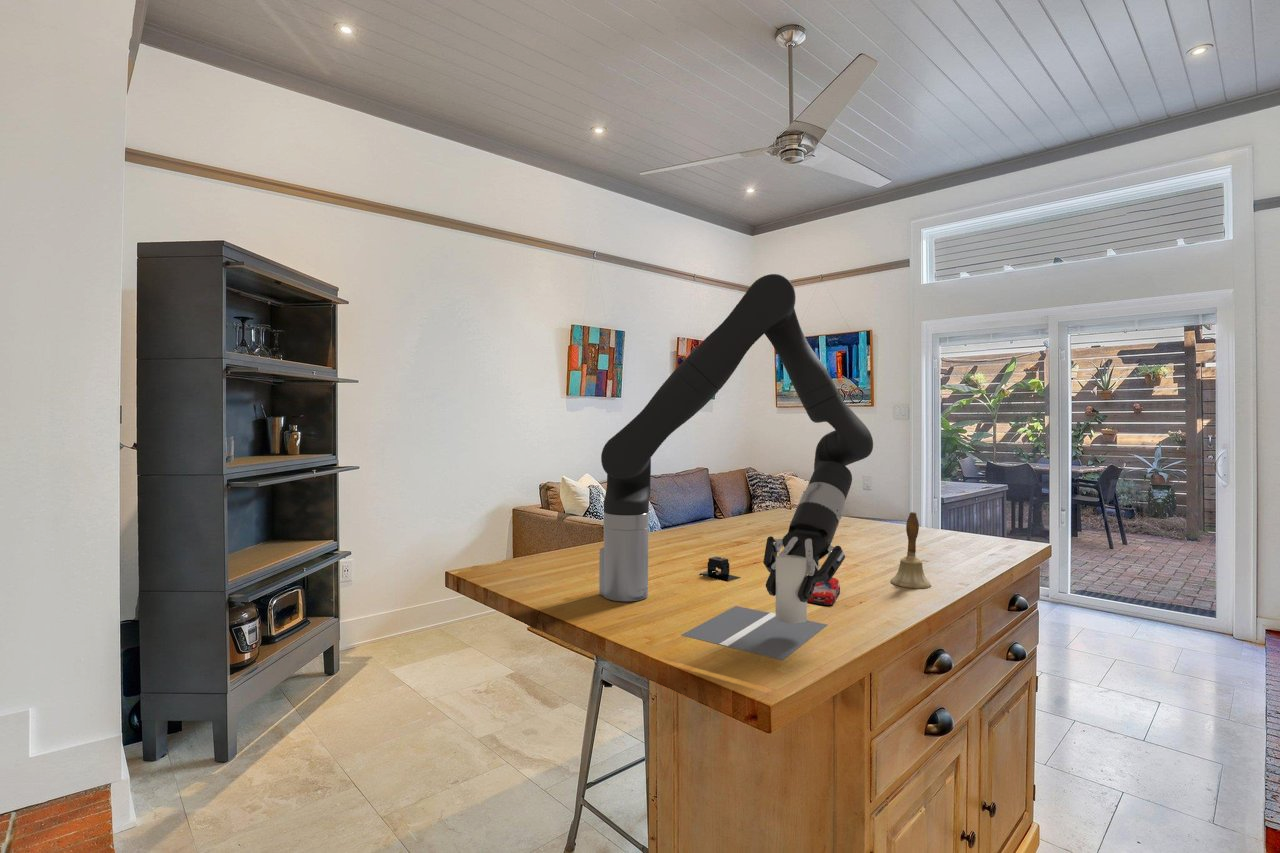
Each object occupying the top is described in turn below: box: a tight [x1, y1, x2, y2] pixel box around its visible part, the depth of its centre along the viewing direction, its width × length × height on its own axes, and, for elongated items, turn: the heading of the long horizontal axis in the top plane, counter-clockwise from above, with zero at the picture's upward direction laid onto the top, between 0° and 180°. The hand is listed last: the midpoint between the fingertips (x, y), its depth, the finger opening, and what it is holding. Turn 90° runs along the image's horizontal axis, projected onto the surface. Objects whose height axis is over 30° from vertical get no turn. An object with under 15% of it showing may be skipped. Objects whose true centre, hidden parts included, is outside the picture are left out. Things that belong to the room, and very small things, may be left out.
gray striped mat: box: [681, 605, 829, 661], centre depth 107 cm, size 18×20×1 cm
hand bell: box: [890, 511, 932, 590], centre depth 139 cm, size 8×8×16 cm
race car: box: [807, 577, 841, 606], centre depth 128 cm, size 13×5×4 cm, turn 153°
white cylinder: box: [775, 555, 808, 623], centre depth 103 cm, size 5×5×10 cm
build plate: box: [698, 556, 742, 583], centre depth 145 cm, size 12×7×5 cm, turn 45°
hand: (785, 595), depth 102 cm, fingers closed on white cylinder, 5 cm apart
